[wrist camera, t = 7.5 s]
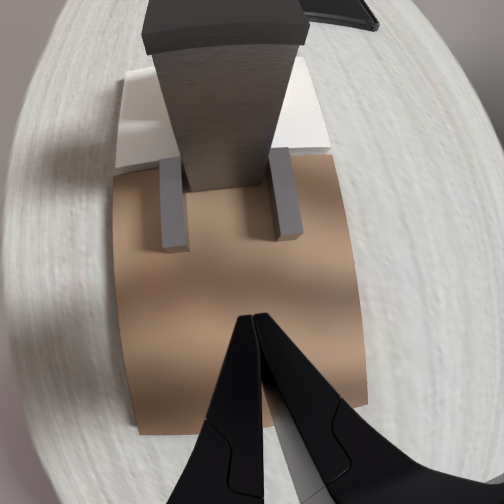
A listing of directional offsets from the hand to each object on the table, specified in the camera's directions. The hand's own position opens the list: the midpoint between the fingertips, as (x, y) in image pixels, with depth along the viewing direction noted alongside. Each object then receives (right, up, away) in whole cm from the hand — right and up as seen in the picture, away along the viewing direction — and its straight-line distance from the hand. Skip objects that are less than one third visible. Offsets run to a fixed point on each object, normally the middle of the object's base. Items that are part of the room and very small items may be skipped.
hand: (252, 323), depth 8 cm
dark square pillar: (-2, +11, +9) cm, 14 cm away
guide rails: (-1, +5, +10) cm, 11 cm away
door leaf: (-1, 0, +9) cm, 9 cm away
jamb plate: (-2, +12, +11) cm, 17 cm away
